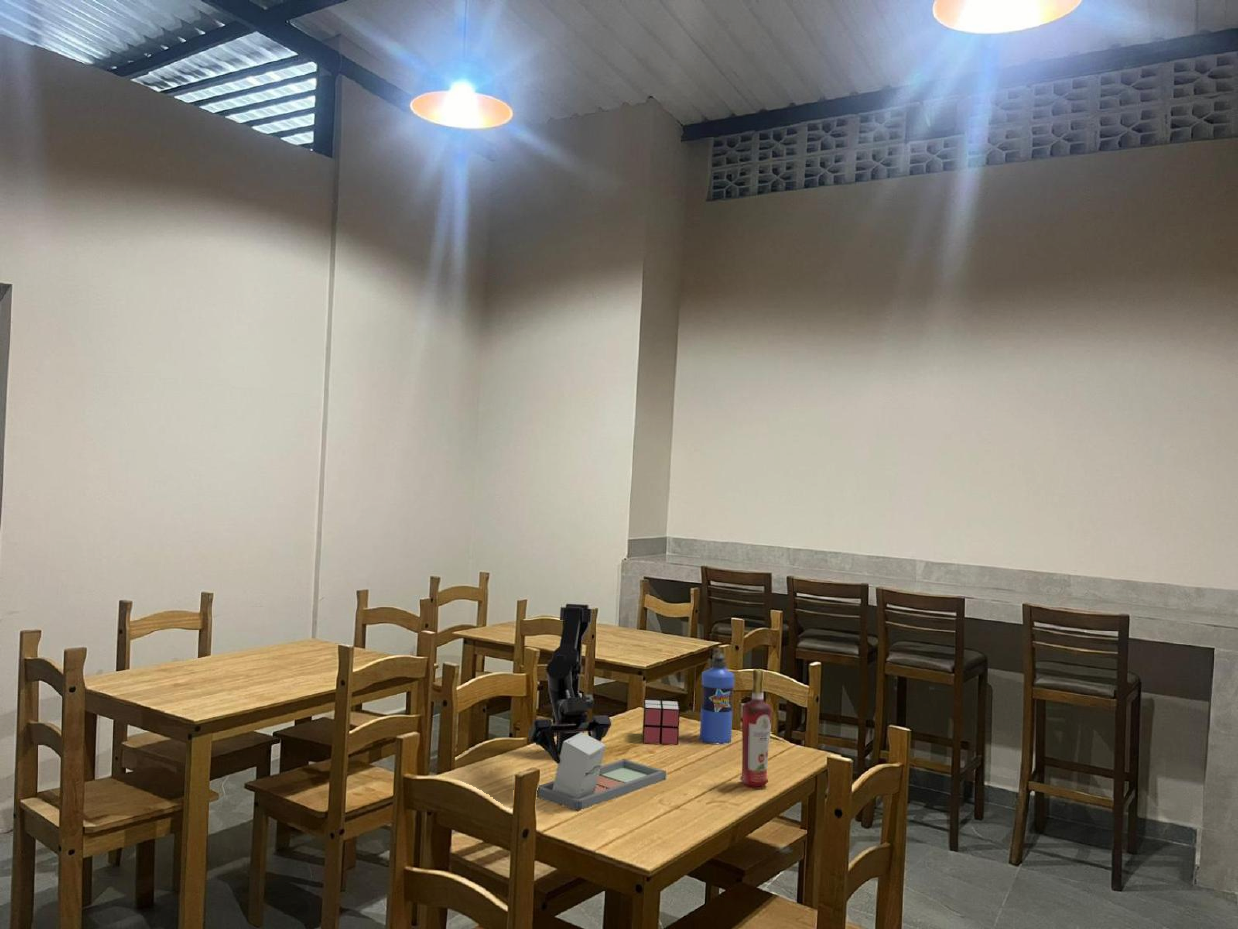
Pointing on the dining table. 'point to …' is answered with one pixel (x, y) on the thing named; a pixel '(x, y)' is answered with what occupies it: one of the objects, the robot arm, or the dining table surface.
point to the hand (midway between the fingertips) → (578, 761)
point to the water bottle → (717, 702)
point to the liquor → (755, 735)
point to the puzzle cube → (661, 722)
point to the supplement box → (579, 766)
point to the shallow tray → (608, 784)
